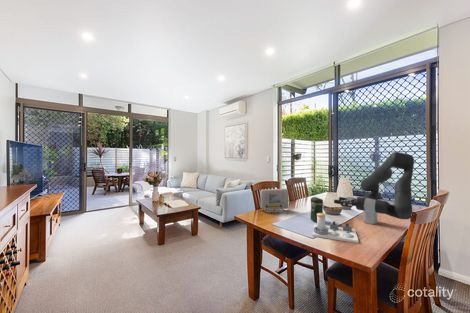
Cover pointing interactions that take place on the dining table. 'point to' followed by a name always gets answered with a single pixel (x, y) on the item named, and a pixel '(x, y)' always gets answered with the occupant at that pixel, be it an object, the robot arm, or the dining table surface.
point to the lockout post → (321, 222)
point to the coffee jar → (316, 207)
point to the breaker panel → (337, 232)
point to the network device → (274, 199)
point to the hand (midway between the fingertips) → (336, 199)
